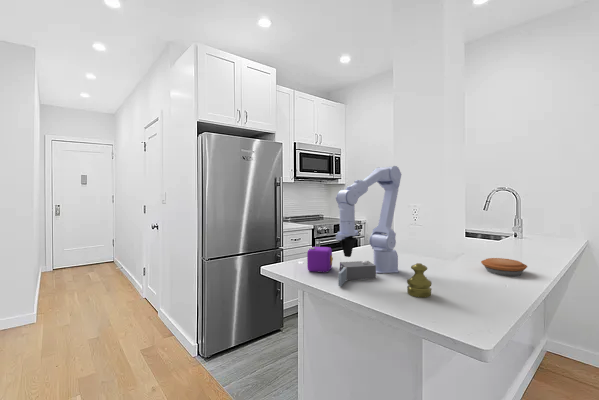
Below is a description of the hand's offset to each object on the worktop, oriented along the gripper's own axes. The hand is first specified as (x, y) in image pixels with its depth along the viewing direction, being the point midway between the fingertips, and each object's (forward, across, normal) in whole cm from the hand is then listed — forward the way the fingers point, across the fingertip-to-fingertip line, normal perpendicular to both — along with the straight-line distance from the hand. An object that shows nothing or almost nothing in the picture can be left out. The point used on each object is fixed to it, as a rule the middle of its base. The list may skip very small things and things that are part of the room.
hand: (347, 256), depth 114 cm
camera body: (+9, -6, +1) cm, 11 cm away
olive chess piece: (+9, +2, +27) cm, 28 cm away
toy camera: (+9, -7, -17) cm, 21 cm away
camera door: (+8, +6, +1) cm, 10 cm away
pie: (+10, -44, +48) cm, 65 cm away
